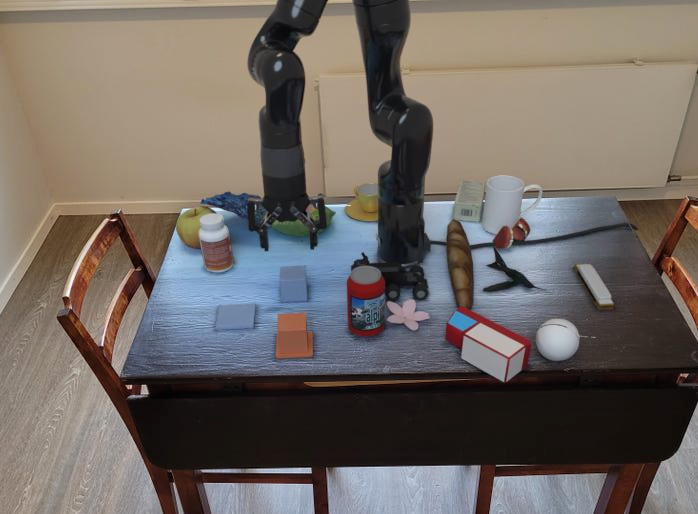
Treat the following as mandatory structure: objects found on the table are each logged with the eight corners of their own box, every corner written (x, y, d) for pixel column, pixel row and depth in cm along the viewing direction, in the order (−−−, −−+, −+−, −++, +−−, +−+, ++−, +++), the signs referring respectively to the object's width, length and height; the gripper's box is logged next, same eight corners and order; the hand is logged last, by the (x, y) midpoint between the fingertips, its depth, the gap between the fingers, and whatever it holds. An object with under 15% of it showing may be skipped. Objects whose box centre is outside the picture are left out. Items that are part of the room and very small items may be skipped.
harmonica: (614, 309, 131) (616, 301, 130) (598, 310, 131) (600, 302, 130) (588, 268, 143) (590, 260, 141) (573, 269, 142) (575, 260, 141)
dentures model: (511, 243, 144) (537, 229, 148) (498, 227, 145) (524, 214, 148) (498, 257, 149) (524, 244, 153) (487, 242, 150) (512, 229, 153)
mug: (485, 236, 153) (490, 192, 146) (479, 218, 159) (483, 175, 152) (540, 234, 153) (548, 190, 146) (532, 217, 159) (539, 173, 152)
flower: (438, 338, 129) (440, 332, 127) (385, 338, 126) (387, 332, 125) (426, 301, 135) (428, 295, 134) (376, 301, 133) (377, 295, 132)
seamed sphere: (522, 343, 118) (533, 313, 122) (543, 372, 121) (553, 342, 125) (577, 333, 111) (587, 302, 115) (597, 364, 114) (606, 332, 118)
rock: (263, 216, 146) (262, 225, 147) (283, 197, 162) (282, 205, 162) (196, 200, 147) (195, 209, 148) (222, 183, 162) (221, 191, 163)
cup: (406, 208, 164) (407, 187, 160) (372, 227, 157) (372, 206, 154) (368, 193, 170) (368, 173, 167) (334, 211, 164) (333, 190, 160)
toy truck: (461, 304, 124) (437, 320, 121) (532, 340, 116) (509, 358, 113) (459, 329, 128) (435, 345, 124) (528, 366, 120) (505, 384, 116)
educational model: (323, 246, 151) (321, 223, 148) (254, 237, 155) (251, 215, 151) (340, 221, 161) (339, 199, 157) (275, 214, 164) (273, 192, 161)
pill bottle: (239, 267, 146) (232, 220, 139) (212, 277, 143) (203, 229, 136) (226, 255, 150) (218, 208, 143) (199, 263, 147) (190, 216, 140)
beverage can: (357, 344, 125) (355, 288, 118) (342, 323, 130) (340, 268, 122) (391, 334, 127) (391, 278, 120) (375, 314, 132) (375, 259, 124)
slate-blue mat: (255, 306, 135) (255, 303, 135) (253, 328, 130) (253, 325, 129) (219, 308, 135) (219, 305, 134) (215, 330, 129) (215, 327, 129)
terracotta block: (307, 334, 127) (306, 312, 124) (308, 352, 123) (306, 329, 120) (280, 336, 127) (277, 313, 123) (279, 353, 123) (277, 330, 120)
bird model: (531, 275, 146) (542, 301, 138) (475, 265, 144) (482, 291, 136) (541, 253, 143) (552, 279, 135) (483, 242, 141) (491, 268, 133)
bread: (441, 223, 158) (443, 203, 155) (463, 223, 158) (465, 203, 154) (452, 324, 129) (454, 302, 126) (479, 324, 129) (482, 302, 125)
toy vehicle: (351, 280, 141) (349, 242, 136) (424, 277, 142) (426, 239, 136) (352, 303, 135) (351, 264, 129) (429, 300, 135) (432, 261, 130)
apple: (235, 233, 153) (222, 200, 148) (204, 257, 148) (189, 224, 143) (207, 228, 159) (193, 196, 154) (176, 251, 154) (161, 219, 149)
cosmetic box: (479, 222, 158) (484, 198, 167) (481, 204, 155) (486, 181, 164) (451, 219, 159) (458, 196, 168) (453, 201, 157) (460, 179, 166)
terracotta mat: (312, 334, 128) (312, 331, 127) (313, 357, 123) (312, 354, 122) (277, 336, 128) (276, 333, 127) (276, 358, 123) (275, 356, 122)
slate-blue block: (307, 286, 140) (305, 265, 137) (307, 300, 136) (305, 279, 133) (282, 287, 140) (280, 266, 137) (281, 302, 136) (279, 280, 133)
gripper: (240, 177, 118) (250, 260, 128) (324, 174, 118) (328, 257, 128) (243, 159, 123) (252, 239, 134) (323, 156, 124) (327, 237, 134)
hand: (289, 248), depth 131 cm, fingers open, 8 cm apart
